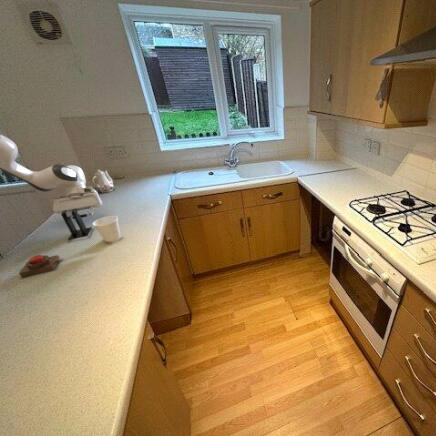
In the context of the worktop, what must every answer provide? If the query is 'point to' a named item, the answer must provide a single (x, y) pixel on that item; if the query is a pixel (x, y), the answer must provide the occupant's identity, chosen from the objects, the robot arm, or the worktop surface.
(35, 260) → the button
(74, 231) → the bracket
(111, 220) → the cup
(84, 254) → the worktop surface
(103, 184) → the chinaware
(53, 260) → the button block
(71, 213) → the lever
